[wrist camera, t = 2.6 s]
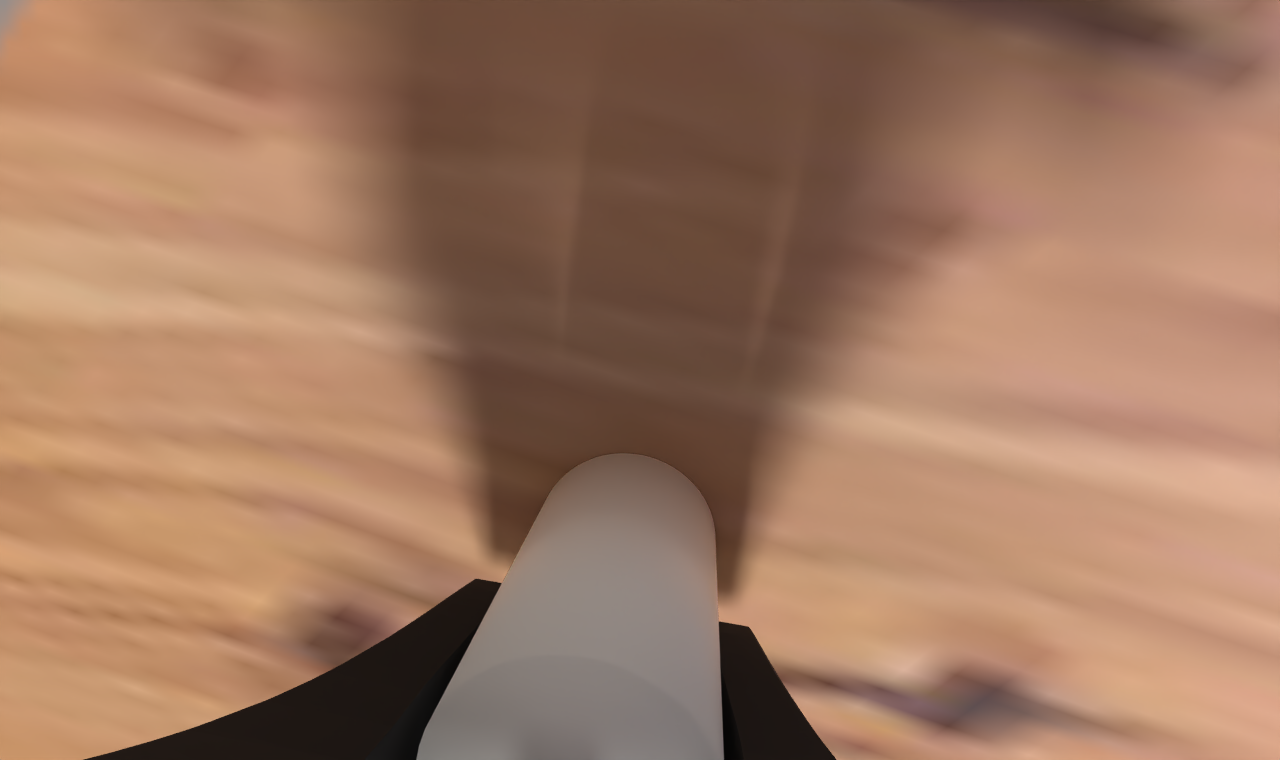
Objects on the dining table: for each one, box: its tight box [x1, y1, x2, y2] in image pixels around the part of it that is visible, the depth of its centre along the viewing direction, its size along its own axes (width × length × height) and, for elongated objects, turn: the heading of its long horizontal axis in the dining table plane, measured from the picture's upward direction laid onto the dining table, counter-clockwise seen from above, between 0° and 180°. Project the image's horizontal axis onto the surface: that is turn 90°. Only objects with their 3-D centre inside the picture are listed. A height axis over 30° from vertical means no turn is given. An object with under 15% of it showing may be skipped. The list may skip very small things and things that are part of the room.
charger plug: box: [416, 453, 724, 760], centre depth 10 cm, size 3×6×7 cm, turn 170°
